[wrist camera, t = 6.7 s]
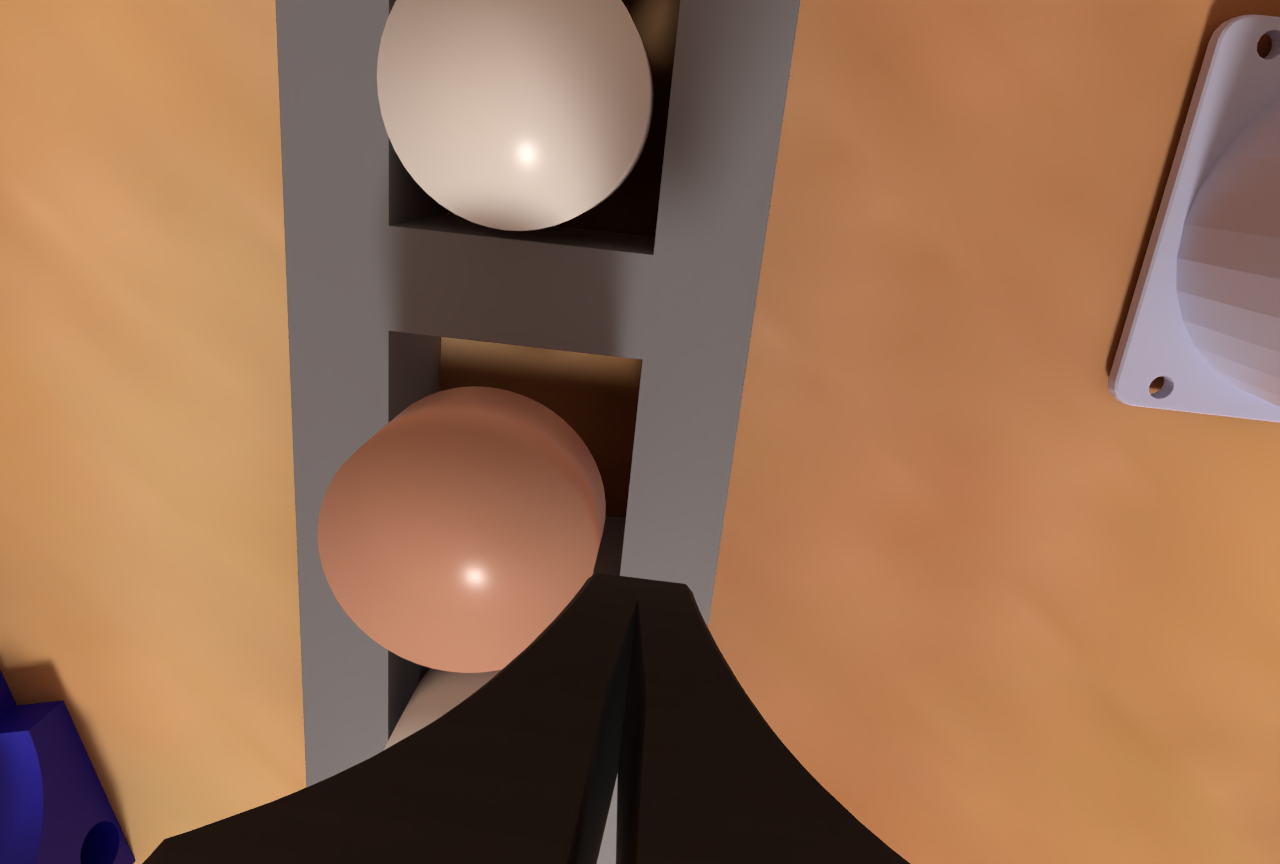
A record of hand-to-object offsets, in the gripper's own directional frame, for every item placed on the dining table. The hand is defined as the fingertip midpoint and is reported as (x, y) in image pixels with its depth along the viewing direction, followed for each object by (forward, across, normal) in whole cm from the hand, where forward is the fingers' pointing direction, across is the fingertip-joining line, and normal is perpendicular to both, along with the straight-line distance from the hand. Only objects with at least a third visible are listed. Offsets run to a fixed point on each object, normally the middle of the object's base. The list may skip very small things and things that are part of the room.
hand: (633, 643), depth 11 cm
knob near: (+9, +3, -7) cm, 12 cm away
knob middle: (+7, +3, 0) cm, 7 cm away
